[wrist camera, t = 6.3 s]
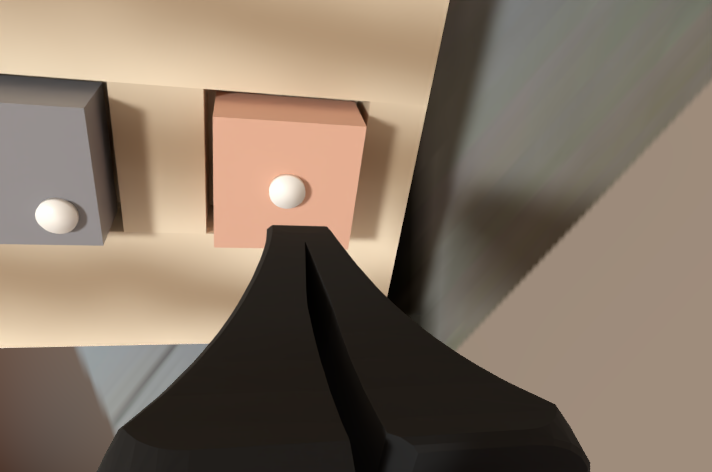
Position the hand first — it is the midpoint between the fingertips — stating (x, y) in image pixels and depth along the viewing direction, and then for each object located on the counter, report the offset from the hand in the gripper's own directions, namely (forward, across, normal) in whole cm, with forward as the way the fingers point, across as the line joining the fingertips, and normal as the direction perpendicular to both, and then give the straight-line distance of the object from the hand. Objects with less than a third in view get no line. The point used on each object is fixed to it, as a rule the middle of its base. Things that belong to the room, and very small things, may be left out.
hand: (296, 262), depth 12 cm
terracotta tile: (+6, 0, 0) cm, 6 cm away
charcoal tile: (+5, +7, 0) cm, 9 cm away
